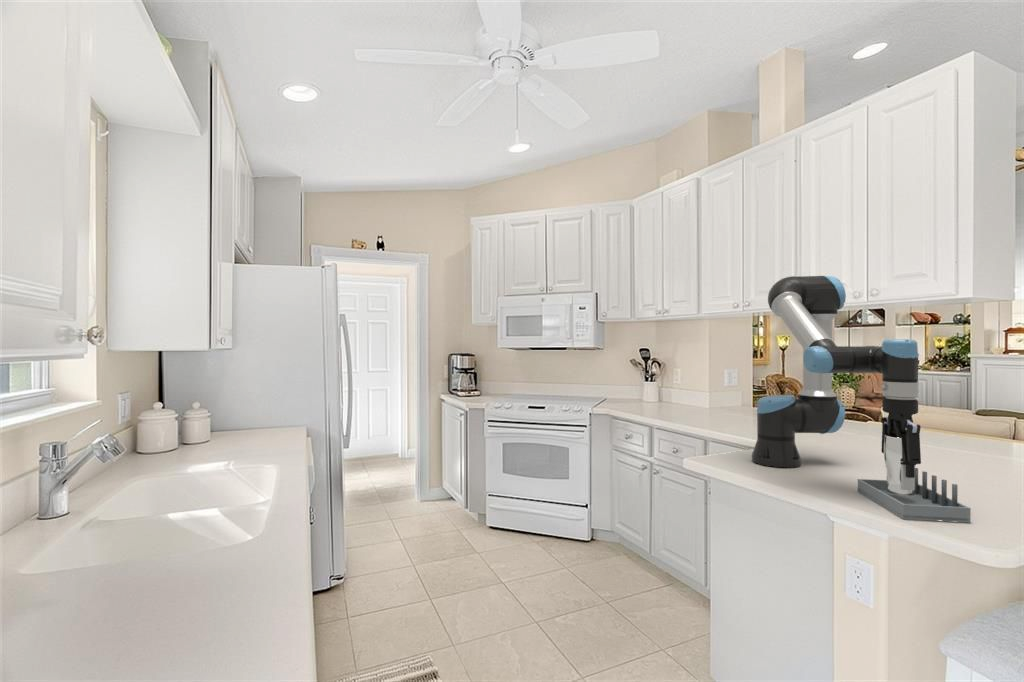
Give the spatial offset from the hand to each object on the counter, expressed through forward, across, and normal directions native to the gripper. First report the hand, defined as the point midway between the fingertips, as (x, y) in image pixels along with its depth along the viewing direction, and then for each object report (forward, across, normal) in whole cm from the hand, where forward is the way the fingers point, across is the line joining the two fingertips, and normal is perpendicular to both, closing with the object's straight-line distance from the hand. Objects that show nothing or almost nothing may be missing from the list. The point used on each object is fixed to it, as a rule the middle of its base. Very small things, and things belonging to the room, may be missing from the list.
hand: (900, 485), depth 135 cm
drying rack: (+5, +2, +1) cm, 5 cm away
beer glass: (+2, 0, 0) cm, 2 cm away
